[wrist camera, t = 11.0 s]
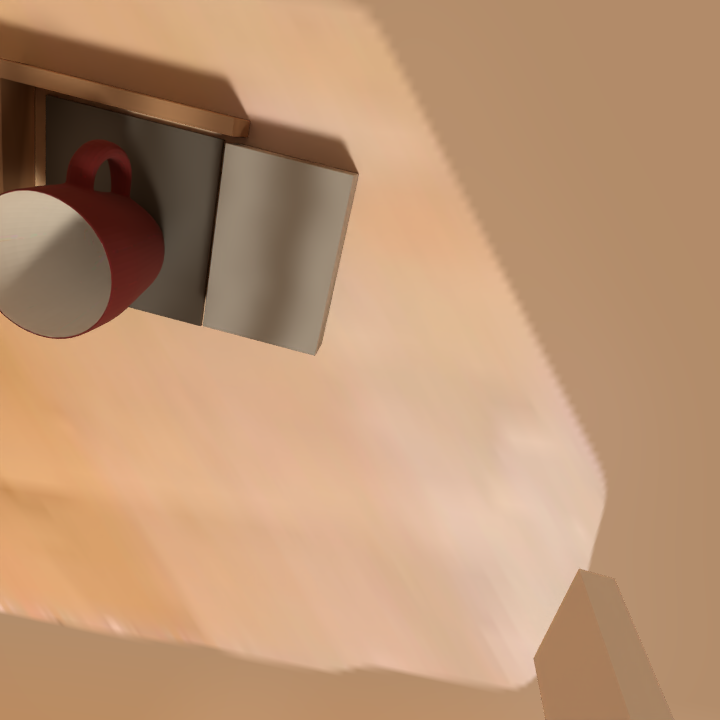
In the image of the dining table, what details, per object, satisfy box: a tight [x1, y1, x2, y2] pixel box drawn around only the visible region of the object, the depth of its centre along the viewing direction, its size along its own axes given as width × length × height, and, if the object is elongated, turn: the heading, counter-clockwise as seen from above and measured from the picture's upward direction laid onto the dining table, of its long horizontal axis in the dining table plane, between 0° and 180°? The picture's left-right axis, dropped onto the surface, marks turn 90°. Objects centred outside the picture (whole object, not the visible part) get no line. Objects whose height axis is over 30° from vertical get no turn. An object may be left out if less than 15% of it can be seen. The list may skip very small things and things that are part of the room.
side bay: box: [0, 59, 359, 356], centre depth 36 cm, size 23×14×3 cm, turn 76°
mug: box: [0, 139, 165, 339], centre depth 33 cm, size 11×8×10 cm
